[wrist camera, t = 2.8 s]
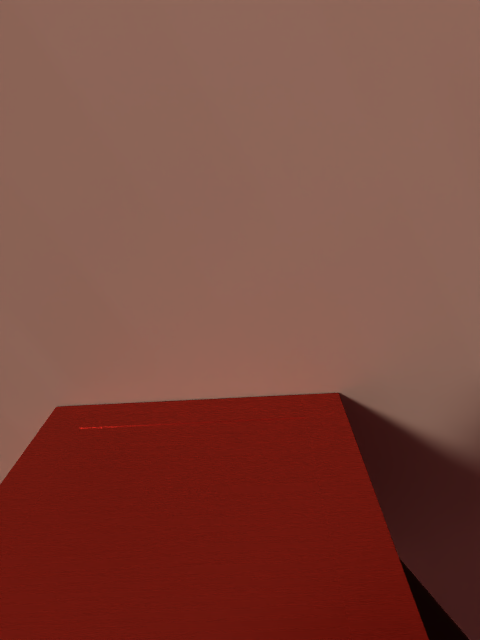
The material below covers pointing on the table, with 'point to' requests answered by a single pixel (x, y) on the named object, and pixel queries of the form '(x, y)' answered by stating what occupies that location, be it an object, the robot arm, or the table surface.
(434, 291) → the table surface
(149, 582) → the red arch stool
